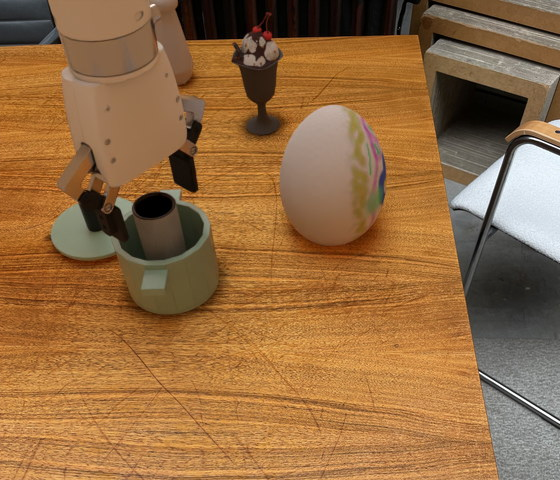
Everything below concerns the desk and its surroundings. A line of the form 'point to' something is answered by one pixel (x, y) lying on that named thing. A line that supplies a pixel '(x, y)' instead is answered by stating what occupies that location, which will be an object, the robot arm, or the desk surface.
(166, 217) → the grey tube
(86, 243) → the lid
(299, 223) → the decorative egg
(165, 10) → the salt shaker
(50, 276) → the desk surface
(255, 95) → the sundae
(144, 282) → the pot
